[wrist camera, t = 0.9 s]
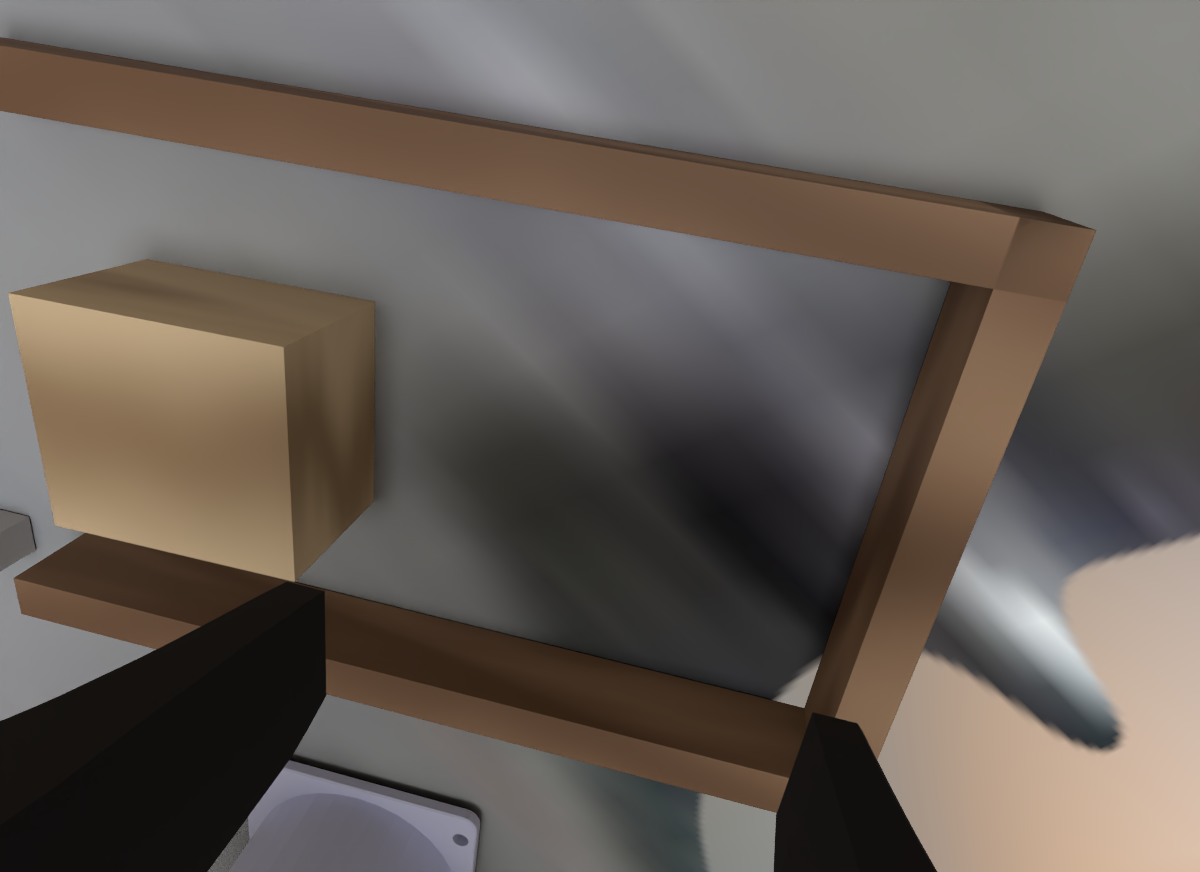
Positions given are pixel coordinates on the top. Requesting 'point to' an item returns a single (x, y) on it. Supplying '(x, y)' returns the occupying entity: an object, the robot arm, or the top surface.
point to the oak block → (202, 411)
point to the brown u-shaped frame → (652, 199)
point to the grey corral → (14, 538)
